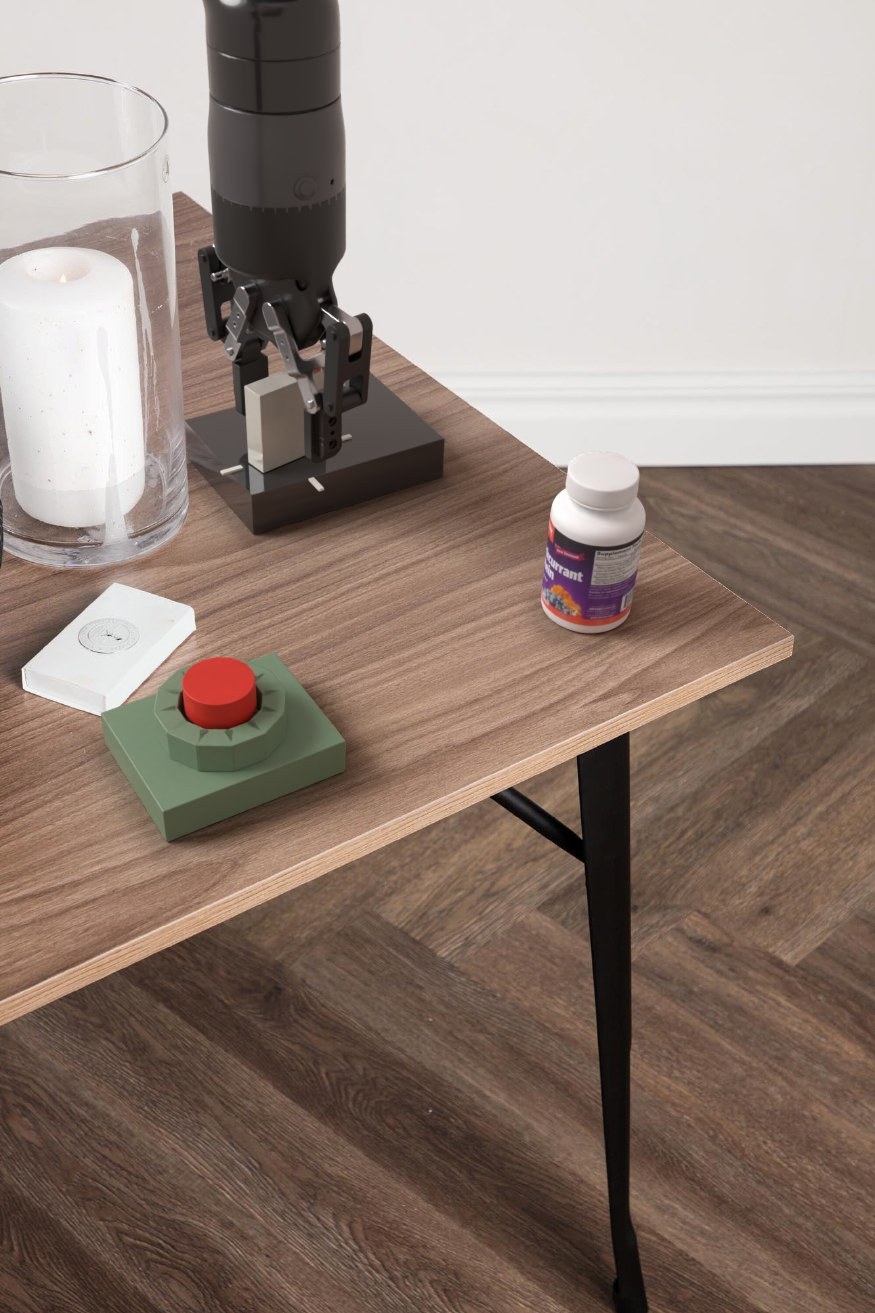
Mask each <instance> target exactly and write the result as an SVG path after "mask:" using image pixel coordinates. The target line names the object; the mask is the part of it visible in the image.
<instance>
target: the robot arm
mask: <svg viewBox="0 0 875 1313" xmlns="http://www.w3.org/2000/svg"><path fill="white" fill-rule="evenodd" d="M201 2H202V5H203V9H204V29H205V30H204V31H205V32H204V33H205V49H206V62H207V63H206V66H207V79H208V80H207V81H208V90H209V91H208V100H209V101H208V116H207V129H206V130H207V136H206V137H207V155H208V167H209V168H208V171H209V184H210V186H209V187H210V200H211V201H210V202H211V215H212V231H213V243H212V244H209V245H207V246H203V247H201V248H198V249H197V261H198V269H199V270H198V271H199V277H200V286H201V295H202V303H203V310H204V319H205V327H206V333H207V335H208V337H209V339H210V340H211V341H212V342H218V341H221V342H222V344H223V351H224V354H225V356H226V358H227V360H229V361H230V362H231V367H232V369H231V371H232V379H233V380H232V382H233V383H232V384H233V386H232V387H233V395H234V401H235V407H236V410H237V411H238V412H239V413H241V414H242V415H243V416H245V417H246V408H245V389H244V386H245V385H248V384H251V383H253V382H256V381H258V380H261V379H264V378H266V377H269V376H270V372H269V369H270V368H269V356H268V355H267V354H265V353H264V352H262V351H265V350H266V349H267V347H268V345H269V342H270V343H271V344H272V345H273V346H274V347H275V348H276V349H277V350H278V352H279V354H280V357H281V361H282V363H283V366H284V370H286V372H287V374H288V375H289V376H291V377H294V378H295V379H296V380H297V383H298V386H299V389H300V392H301V395H302V398H303V401H304V404H305V407H306V408H304V445H305V457H306V458H307V459H308V460H310V461H311V462H313V463H314V464H318V463H320V462H322V461H325V460H327V459H329V458H332V457H334V456H335V455H336V454H337V453H338V452H339V451H340V449H341V447H342V438H341V437H342V432H341V431H342V413H343V412H346V411H348V410H351V409H353V408H355V407H358V406H360V405H363V404H365V403H366V402H367V399H368V386H369V373H370V372H371V359H372V348H373V347H372V346H373V332H374V324H373V321H372V318H371V317H370V315H369V314H367V313H366V312H361V313H358V314H356V315H353V316H352V315H350V314H348V313H347V312H345V310H343V309H341V308H340V307H339V302H338V298H337V295H336V291H335V288H334V282H333V276H334V273H335V271H336V270H337V267H338V266H339V264H340V262H341V261H342V260H343V258H344V256H345V254H346V250H347V143H346V142H347V141H346V138H347V137H346V126H345V119H344V113H343V104H342V93H341V91H342V33H341V32H342V30H341V29H342V28H341V12H340V4H339V0H201ZM227 302H229V306H230V313H229V315H228V316H225V317H223V314H222V306H223V304H224V303H227ZM318 342H319V344H320V350H319V352H318V353H316V354H314V355H311V356H308V357H305V358H303V357H302V356H301V355H300V351H304V350H306V349H309V348H311V347H314V346H315V345H317V343H318ZM320 368H321V369H322V370H323V373H324V387H323V388H322V389H319V390H318V388H317V385H316V382H315V379H314V371H315V370H317V369H320ZM347 380H349V386H346V385H345V382H346V381H347Z"/></svg>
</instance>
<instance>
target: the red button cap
mask: <svg viewBox="0 0 875 1313" xmlns="http://www.w3.org/2000/svg"><path fill="white" fill-rule="evenodd" d="M236 659H237V658H232V657H226V656H216V657H210V658H206V659H203V660H200V661H197V662H195V663H196V664H195V663H193V664H194V665H193V666H192V667H190V668H189V669H188V670H187V672H186V673H185V675H184V677H183V680H182V688H183V698H184V707H185V713H186V715H187V717H188V718H189V719H190V721H192V722H193V723H194V724H196V725H197V726H199V727H202V728H205V729H230V728H233V727H236V726H239V725H241V724H244V723H245V722H247V721H248V720H249V719H250V718H251V717H252V716H253V714H254V713H255V710H256V706H257V700H256V682H255V675H254V673H253V671H252V669H251V668H250V667H249V666H248V665H247V664H245V663H243V662H241V661H239V660H236Z"/></svg>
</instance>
